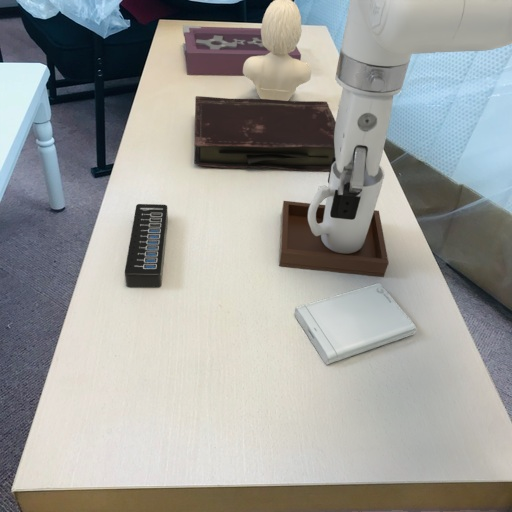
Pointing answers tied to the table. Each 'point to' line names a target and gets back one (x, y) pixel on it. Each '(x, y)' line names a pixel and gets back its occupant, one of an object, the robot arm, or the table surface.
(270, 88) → the figurine
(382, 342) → the hard drive
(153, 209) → the multiport hub
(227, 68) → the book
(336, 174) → the mug
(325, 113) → the diary
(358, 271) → the shallow brown tray
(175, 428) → the table surface
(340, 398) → the table surface
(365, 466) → the table surface
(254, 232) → the table surface
